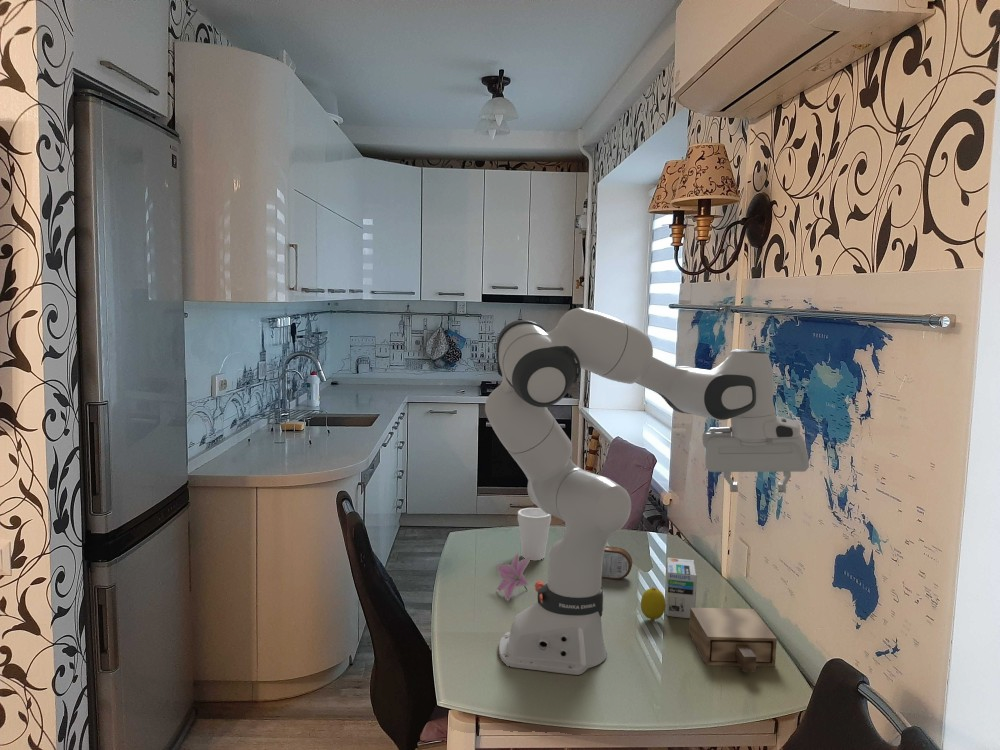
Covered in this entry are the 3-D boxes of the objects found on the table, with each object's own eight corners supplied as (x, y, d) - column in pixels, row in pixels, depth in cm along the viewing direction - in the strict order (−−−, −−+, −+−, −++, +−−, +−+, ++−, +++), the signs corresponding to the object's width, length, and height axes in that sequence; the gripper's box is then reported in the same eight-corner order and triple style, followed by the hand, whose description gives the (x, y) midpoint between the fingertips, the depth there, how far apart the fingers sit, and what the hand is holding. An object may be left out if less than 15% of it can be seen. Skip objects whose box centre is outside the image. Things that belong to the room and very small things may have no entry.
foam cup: (510, 557, 208) (511, 513, 206) (528, 548, 215) (529, 505, 214) (538, 565, 202) (540, 519, 201) (555, 555, 210) (557, 511, 209)
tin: (631, 578, 195) (632, 547, 194) (631, 582, 192) (632, 551, 191) (575, 572, 198) (576, 542, 197) (573, 576, 195) (574, 545, 194)
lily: (498, 585, 191) (484, 558, 186) (540, 569, 190) (527, 542, 186) (503, 618, 180) (489, 590, 176) (548, 601, 179) (535, 573, 175)
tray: (718, 673, 144) (719, 654, 144) (694, 631, 162) (695, 614, 162) (779, 674, 144) (780, 655, 144) (749, 632, 162) (750, 615, 161)
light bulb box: (695, 620, 170) (697, 575, 169) (665, 616, 171) (667, 572, 170) (692, 601, 181) (695, 559, 179) (665, 598, 182) (666, 556, 181)
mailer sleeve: (706, 664, 149) (707, 636, 148) (689, 633, 163) (690, 607, 162) (775, 666, 149) (776, 638, 148) (751, 634, 163) (753, 608, 162)
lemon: (662, 627, 166) (664, 594, 165) (638, 623, 167) (639, 590, 167) (666, 618, 171) (667, 585, 170) (642, 614, 173) (643, 581, 172)
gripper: (700, 431, 151) (704, 495, 153) (807, 429, 143) (810, 496, 145) (703, 424, 157) (707, 486, 159) (806, 421, 149) (810, 486, 151)
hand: (758, 491), depth 152 cm, fingers open, 8 cm apart
